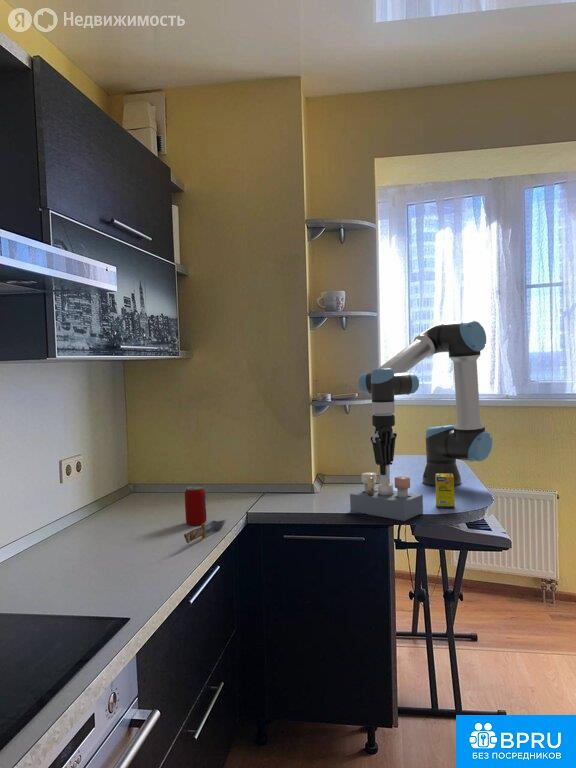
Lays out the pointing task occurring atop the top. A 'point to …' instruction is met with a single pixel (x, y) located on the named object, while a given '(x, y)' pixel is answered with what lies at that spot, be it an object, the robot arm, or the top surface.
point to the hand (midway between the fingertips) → (385, 484)
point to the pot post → (370, 486)
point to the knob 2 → (385, 489)
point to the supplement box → (444, 490)
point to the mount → (387, 505)
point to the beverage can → (195, 505)
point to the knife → (204, 530)
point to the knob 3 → (402, 486)
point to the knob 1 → (365, 482)
